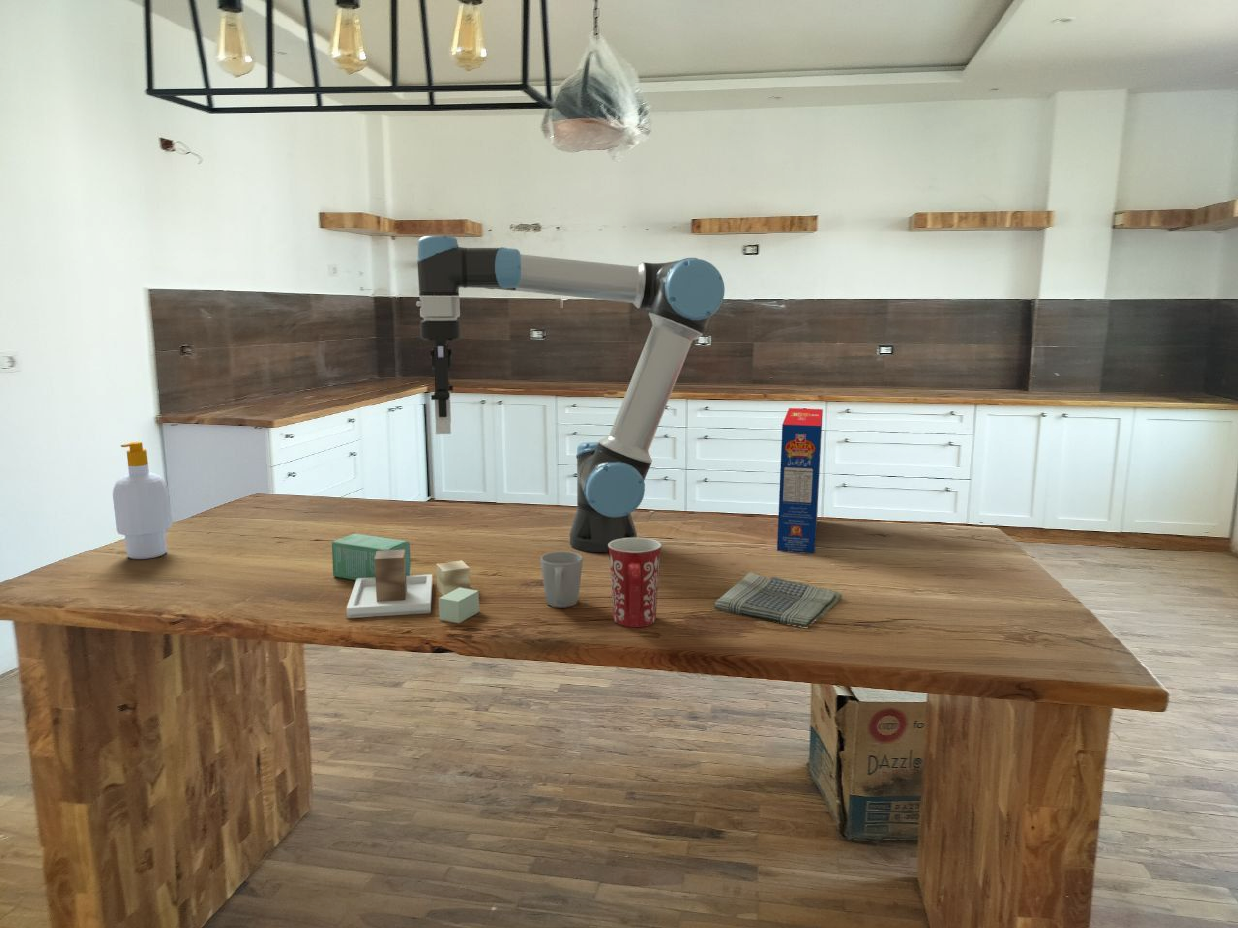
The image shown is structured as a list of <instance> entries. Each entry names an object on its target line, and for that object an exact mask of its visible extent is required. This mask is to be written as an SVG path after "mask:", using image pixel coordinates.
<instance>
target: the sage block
mask: <svg viewBox="0 0 1238 928" xmlns="http://www.w3.org/2000/svg"><path fill="white" fill-rule="evenodd" d="M479 591H480V590H476V589H471V588H470V589H466V588H460V587H459V588H457V589H456V590H454V591H452V592H450V593H448V594H446V595H444V596H443V595H442V596H441V597H439V598H438V611H439V612H438V613H439V620H440V621H446V622H451V623H456V624H461V623H462V622H464V621H465V620H467V619H469V618H471V617H472V616H474V615H476V614H477V613H479V612H480V599H479V595H480V594H479Z"/></svg>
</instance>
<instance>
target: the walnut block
mask: <svg viewBox="0 0 1238 928" xmlns="http://www.w3.org/2000/svg"><path fill="white" fill-rule="evenodd" d="M375 578H376V597H377V602H384V601H401V600H406V594H407V581H406V559H405V550H385V551H377V552H376V556H375Z"/></svg>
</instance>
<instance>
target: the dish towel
mask: <svg viewBox="0 0 1238 928" xmlns="http://www.w3.org/2000/svg"><path fill="white" fill-rule="evenodd" d="M842 597H843V594H842V593H839V592H838V591H837V590H834V589H831V588H830V589H828V588H824V587H818V586H812V585H809V584H805V583H802V582H797V581H792V580H788V579H784V578H781V577H777V576H773V575H772V576H771V577H770V578H769V577H766V576H762V575H759V574H756V573H753V572H749V573H747V574H746V575H745V576H744V577H743V578H741V579H740V580H739V581H738V582H737V583H735V584H734V585H733V586H732V587H731V588H730V589H729V590H727V591H726V592H725V593H724V594H723V595H722V596H720V598H718V599H716V600H715V602H714V605H713V606H714V608H715V609H716V610H719V611H722V612H727V613H732V614H736V615H740V616H745V617H749V618H754V619H758V620H763V619H765V620H764V621H768V620H770V621H769V622H772V621H775V622H774V623H776V622H779V623H778V624H781V623H784V624H783V625H785V624H790V625H796V626H801V627H808V626H809V625H810V624H812V622H813V621H814V620H815V619H818V620H820V619H821V618H822V617H823V616H825V615H826V614H827V613H828V612H829V611H831V610H832V609H831V608H832V607H833V606H834V607H835V606H837V604H838V603H839V602H840V601H841V600H842ZM834 607H833V608H834ZM826 612H827V613H826ZM825 613H826V614H825ZM824 614H825V615H824ZM820 617H821V618H820ZM790 625H789V626H790ZM812 625H813V624H812Z"/></svg>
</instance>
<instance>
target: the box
mask: <svg viewBox="0 0 1238 928" xmlns="http://www.w3.org/2000/svg"><path fill="white" fill-rule="evenodd" d="M331 550H332V552H331V554H332V577H334V578H335V577H336V578H341V579H348V580H351V581H352V580H354V581H356V579H357V578H371V577H375V556H376V552H377V551H385V550H405V559H406V576H408V575H410V574H411V562H412V560H411V559H412V558H411V545H410V541H408V540H403V539H395V538H388V537H383V536H382V537H381V536H377V535H368V534H361V533H352V534H350V535H345V536H344V537H342V538H341V537H340V538H339V539H336V540H333V541H331Z"/></svg>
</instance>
